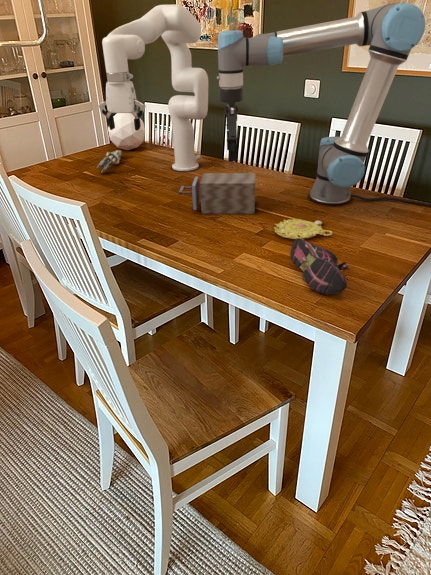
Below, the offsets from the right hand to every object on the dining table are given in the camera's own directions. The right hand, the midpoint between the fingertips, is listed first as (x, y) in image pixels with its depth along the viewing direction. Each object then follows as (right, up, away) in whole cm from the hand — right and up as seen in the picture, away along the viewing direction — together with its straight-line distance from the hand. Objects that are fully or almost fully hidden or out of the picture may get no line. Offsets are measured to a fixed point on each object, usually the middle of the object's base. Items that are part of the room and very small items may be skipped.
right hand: (231, 155), depth 150 cm
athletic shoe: (+24, -42, -28) cm, 56 cm away
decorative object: (+23, -27, -4) cm, 35 cm away
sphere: (-52, +30, +89) cm, 108 cm away
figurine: (-56, +14, +65) cm, 87 cm away
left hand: (-39, +13, +11) cm, 42 cm away
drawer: (-7, -14, +16) cm, 22 cm away
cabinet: (-1, -15, +16) cm, 22 cm away
